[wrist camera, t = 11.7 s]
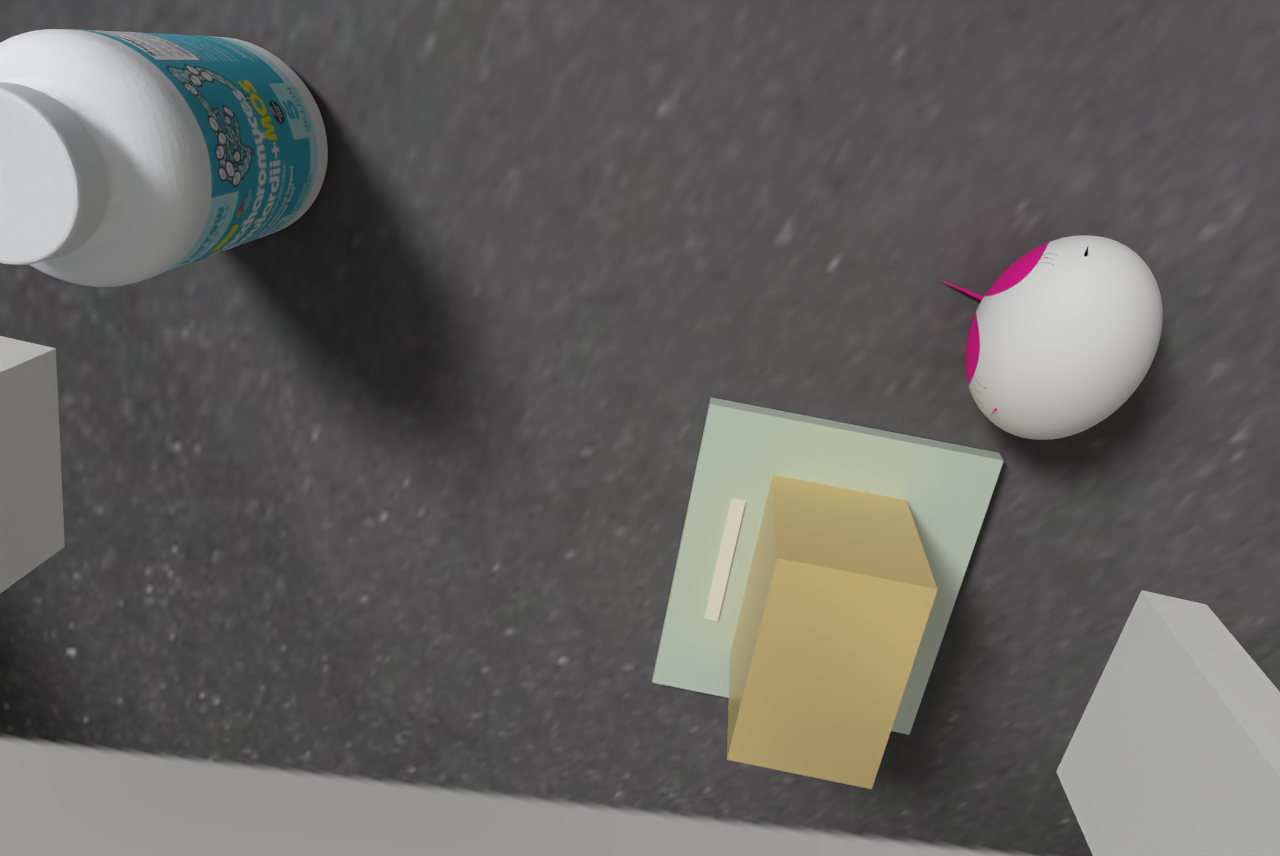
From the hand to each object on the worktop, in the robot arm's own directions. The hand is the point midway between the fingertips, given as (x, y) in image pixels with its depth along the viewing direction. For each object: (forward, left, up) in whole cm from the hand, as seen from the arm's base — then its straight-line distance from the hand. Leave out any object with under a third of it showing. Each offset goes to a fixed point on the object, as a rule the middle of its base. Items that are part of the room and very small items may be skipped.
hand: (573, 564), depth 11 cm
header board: (+8, -14, -27) cm, 32 cm away
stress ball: (+13, -1, -27) cm, 30 cm away
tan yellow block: (+8, -14, -26) cm, 31 cm away
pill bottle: (-18, 0, -27) cm, 33 cm away
